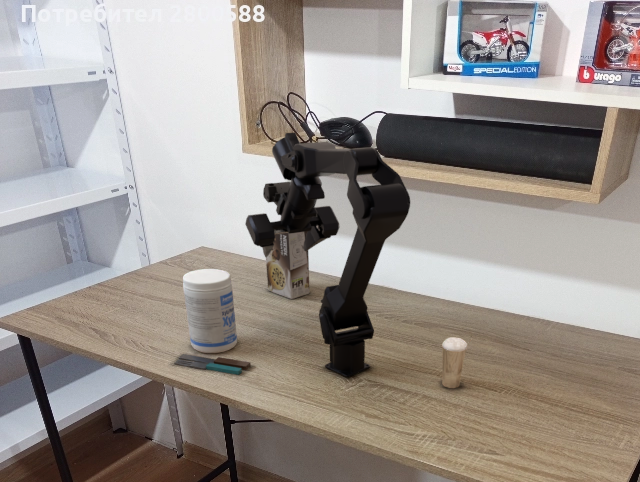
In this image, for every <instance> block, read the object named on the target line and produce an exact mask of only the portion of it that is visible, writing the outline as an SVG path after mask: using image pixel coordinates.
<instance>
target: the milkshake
mask: <svg viewBox="0 0 640 482" xmlns="http://www.w3.org/2000/svg"><path fill="white" fill-rule="evenodd" d="M471 341H472V339H470V340H469V342H468V343H467V342H466V341H465V340H464V339H463V338H461V337H455V336H454V337H453V336H452V337H447V338H446V339H445V340H444V341H443V342H442V344H441V347H442V349H441V351H442V352H441V353H442V366H441V367H442V368H441V369H442V372H441V376H442V379H441V384H442V386H443V387H445V388H447V389H456V388H459V386H460V384H461V378H462V374H463V367H464V363H465V358H466V355H467V351H468V346H469V345H470V343H471Z"/></svg>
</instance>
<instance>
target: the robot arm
mask: <svg viewBox="0 0 640 482" xmlns="http://www.w3.org/2000/svg"><path fill="white" fill-rule="evenodd" d="M271 152H272V156H273V158H274V159H275V160H274V161H275V162H276V164H277V167H278V168H279V171H280V173H281V175H282V177H283V179H284V180H287V181H281V182H269V183H268V182H267V183H265V184H264V187H263V192H262V194H263V199H265V201H266V202H267V203H268V204H269V203H274V205H275V206H276V209H275V212H276V214H277V215H278V216H280V220H281V221H280V220H277V221H271V220H270V218H269V216H268V214H267V213H264V212H263V213H255V214H248V215H247V216H246V219H245V222H244V223H245V227H246V230H247V231H248V234H249V236H250V238H251V241H252V242H253V245H255V246H257V247H260V248H262V253H263V256H264V258H266V257H267V256H268V255H269V254H270V252H271V250H272V248H273V246H274V243H273V242H274V240H275V234H281V233H289V234H291V233H299V232H306V231H308V232H307V235H306V238H305V241H304V245H303V249H304V251H308V252H309V250H310V249H313V247H315V246H317V245H319V244H320V243H322V242H323V241H325V240H327V239H331V237H332V236H333V237H334V236H337V235H338V232H339V230H340V227H341V226H340V222H339V220H338V217H337V216H336V214H335V212H334V210H333V208H332V207H331V206H330V205H324V206H322V205H321V206H316V204H317V201H318V200H323V199H325V197H326V196H325V191H324V189H323V186H322V185H323V183H322V180H321V178H320V177H329V176H332V175H334V174H337V175H338V174H340V175H346V176H347V178H348V185H347V191H346V197H347V199H348V202H349V204H350V206H351V207H352V212H351V213H352V216H353V219H354V221H355V223H356V226H357V228H356V230H355V234H354V237H353V240H352V243H351V246H350V249H349V252H348V255H347V259H346V260H345V264H344V267H343V270H342V273H341V277H340V279H339V283H338V284H336V285H335V284H334V285H329V286H326V288H325V289H324V292H323V297H322V299H321V300H320V303H321V306H320V308H319V312H318V319H319V324H320V331H321V336H322V338H323V343H324V344H325V345H329V362H327V363H326V364H325V365H324V368H325V369H327V370H329V371H331V372H334V373H336V374H338V375H341V376H342V377H345V378H351V377H353V376H355V375H357V374H359V373H362V372H364V371H366V370H368V369H371V364H368V363H366V362H365V361H366V359H365V357H366V354H365V353H366V340H372V339H373V338H374V335H375V329H374V326H373V323H372V321H371V318H370V315H369V313H368V305H367V303H366V301H365V293H366V292H367V289H368V286H369V283H370V281H371V279H372V276H373V273H374V270H375V268H376V265H377V263H378V260H379V257H380V255H381V252H382V251H383V247H384V244H385V242H386V240H387V239H388V238H389V237H391V236H392V235H393V234H394V233H396V232H397V231H398V230H399V229H400V228H401V227H402V225H403V223H404V222H405V220H406V218H407V217H408V215H409V212H410V208H411V196H410V194H409V192H408V190H407V188H406V186H405V183H404V182H403V180H402V178H401V175H400V174H399V173H398V172H397V171H396V170H394V169H393V167H391V166H390V165H389V164H387V163H386V162H385V161H383V158H382V157H381V154H380V152H379V150H378V149H377V148H373V147H372V146H369V147H357V148H336V145H335V144H333V143H330V142H328V141H319V142H318V141H317V142H305V143H301V142H300V140H299V138H298V136H297V133H296V132H285V134H284V137H282V138H280V139H279V140H277V141H276V142H275V143H274V145H272V149H271ZM369 175H371V177H372V178H373V179H374V180H375V181H376V182H377V183H379V184H374V185H364V186H361V187H360V184H359V182H358V180H357V177H360V176H369ZM355 327H356V328H355ZM345 329H347V330H345ZM341 330H342V331H341Z"/></svg>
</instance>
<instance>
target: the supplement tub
mask: <svg viewBox="0 0 640 482" xmlns="http://www.w3.org/2000/svg"><path fill="white" fill-rule="evenodd" d="M182 282H183V283H182V287H183V288H182V289H183V296H184V304H185V309H186V319H187V325H188V333H189V339H190V345H191V347H192V348H193V349H194V350H196V351H198V352H200V353H205V354H218V353H223V352H227V351H229V350H231V349H233V348H234V347H235V346H236V345H237V343H238V334H237V324H236V314H235V313H236V312H235V302H234V290H233V284H232V283H233V282H232V278H231V274H230V272H228V271H227V270H222V269H217V268H201V269H195V270H191V271H188V272H186V273H185V274H184V275H183V276H182Z"/></svg>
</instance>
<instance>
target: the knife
mask: <svg viewBox="0 0 640 482" xmlns="http://www.w3.org/2000/svg"><path fill="white" fill-rule="evenodd" d="M179 359H180V360H186V361H192V362H194V361H195V362H201V363H207V364H209V363H213V364H219V365H225V366H231V367H237V368H242V371H247V370H249V369H250V368H251V367H252V365H251V361H246V360H240V359H239V360H238V359H233V358H228V357H220V356H218V357H217V358H210V357H203V356H197V355H192V354H186V353H183V354H181V355H179V356H178V360H179Z"/></svg>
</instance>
